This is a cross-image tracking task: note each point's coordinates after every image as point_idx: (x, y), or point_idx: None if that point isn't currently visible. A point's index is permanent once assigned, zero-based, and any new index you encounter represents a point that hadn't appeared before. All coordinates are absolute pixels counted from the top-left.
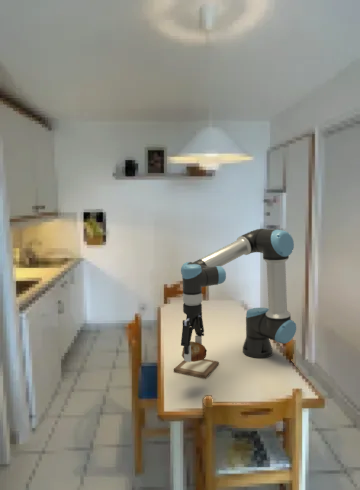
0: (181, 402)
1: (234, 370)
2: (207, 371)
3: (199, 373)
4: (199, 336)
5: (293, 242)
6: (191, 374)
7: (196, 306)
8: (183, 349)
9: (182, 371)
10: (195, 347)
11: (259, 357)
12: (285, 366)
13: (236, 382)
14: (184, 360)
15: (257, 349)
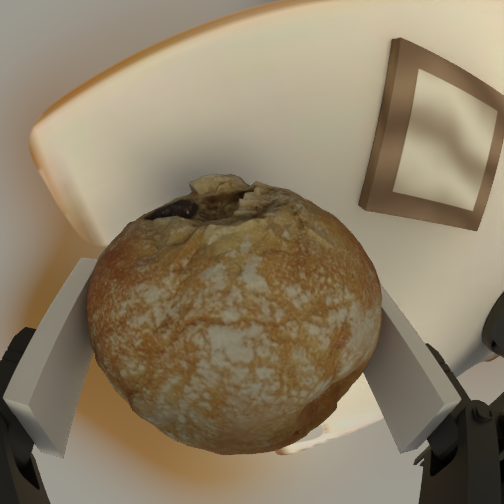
0: (109, 166)
1: (428, 289)
2: (403, 208)
3: (381, 176)
4: (419, 438)
5: None
6: (379, 132)
7: None
8: (126, 279)
9: (392, 84)
10: (167, 434)
11: (484, 328)
12: None
13: None
14: (80, 263)
15: (501, 337)
